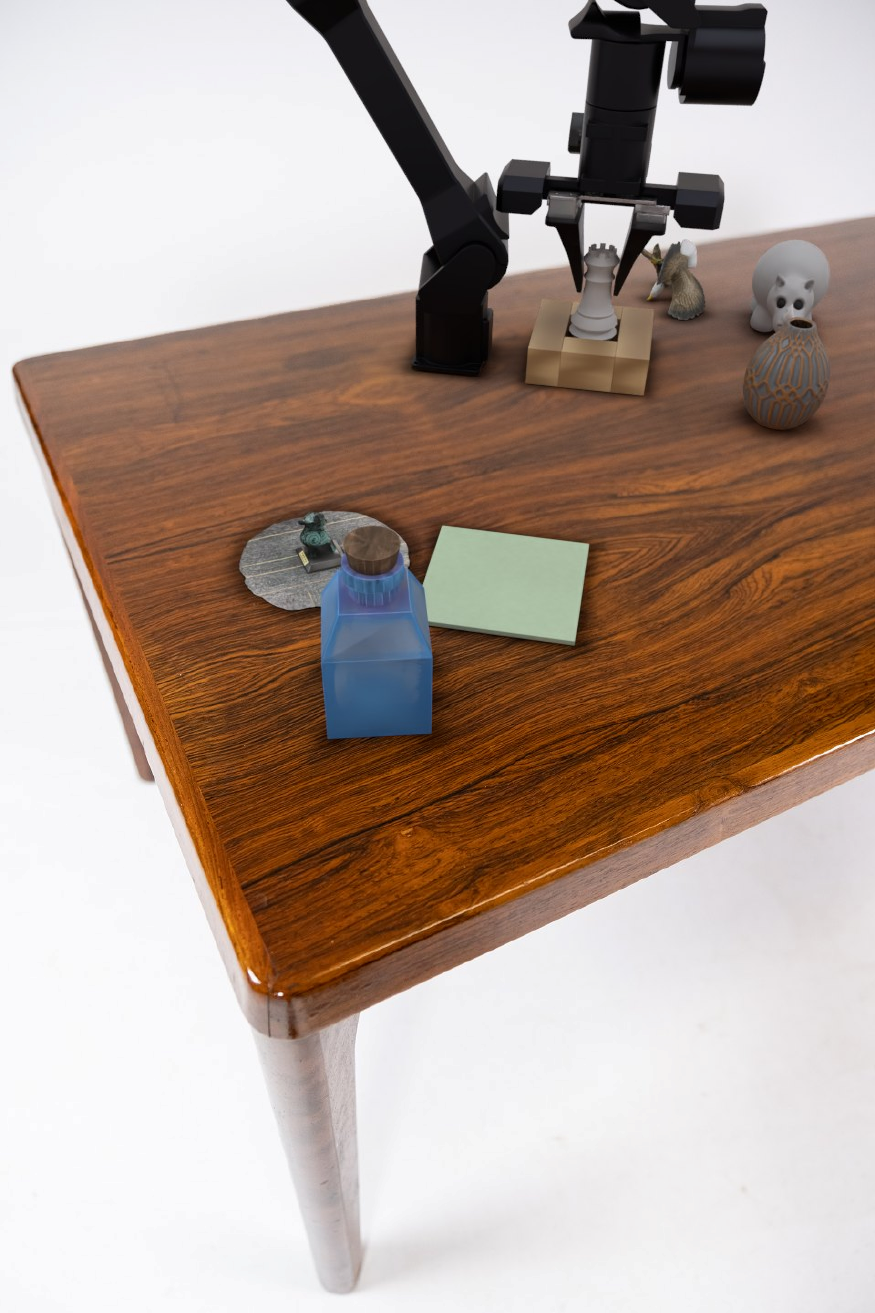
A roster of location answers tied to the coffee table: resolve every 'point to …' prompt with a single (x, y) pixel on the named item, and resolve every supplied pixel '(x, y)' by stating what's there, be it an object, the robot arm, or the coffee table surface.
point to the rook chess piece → (597, 296)
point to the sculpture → (301, 557)
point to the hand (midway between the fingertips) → (597, 292)
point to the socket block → (590, 351)
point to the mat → (506, 584)
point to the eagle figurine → (678, 279)
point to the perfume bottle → (375, 642)
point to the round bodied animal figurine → (787, 284)
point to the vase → (787, 376)
